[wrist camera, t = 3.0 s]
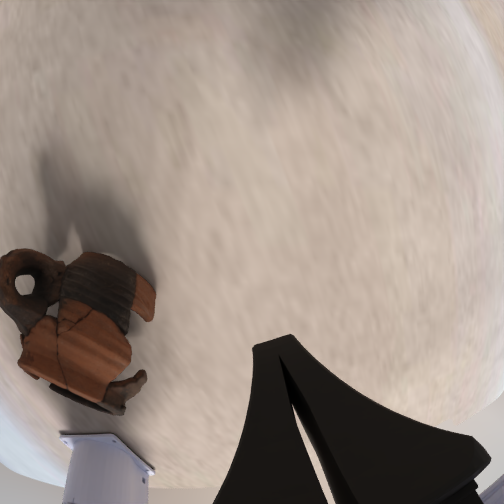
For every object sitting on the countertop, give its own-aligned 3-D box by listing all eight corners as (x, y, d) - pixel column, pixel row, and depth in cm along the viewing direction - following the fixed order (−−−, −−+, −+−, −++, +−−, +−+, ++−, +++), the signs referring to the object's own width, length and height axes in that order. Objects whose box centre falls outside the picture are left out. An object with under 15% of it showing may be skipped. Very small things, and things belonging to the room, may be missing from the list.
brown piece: (196, 313, 19) (168, 430, 14) (115, 324, 23) (87, 409, 18) (64, 180, 12) (-29, 318, 6) (12, 234, 16) (-42, 326, 10)
